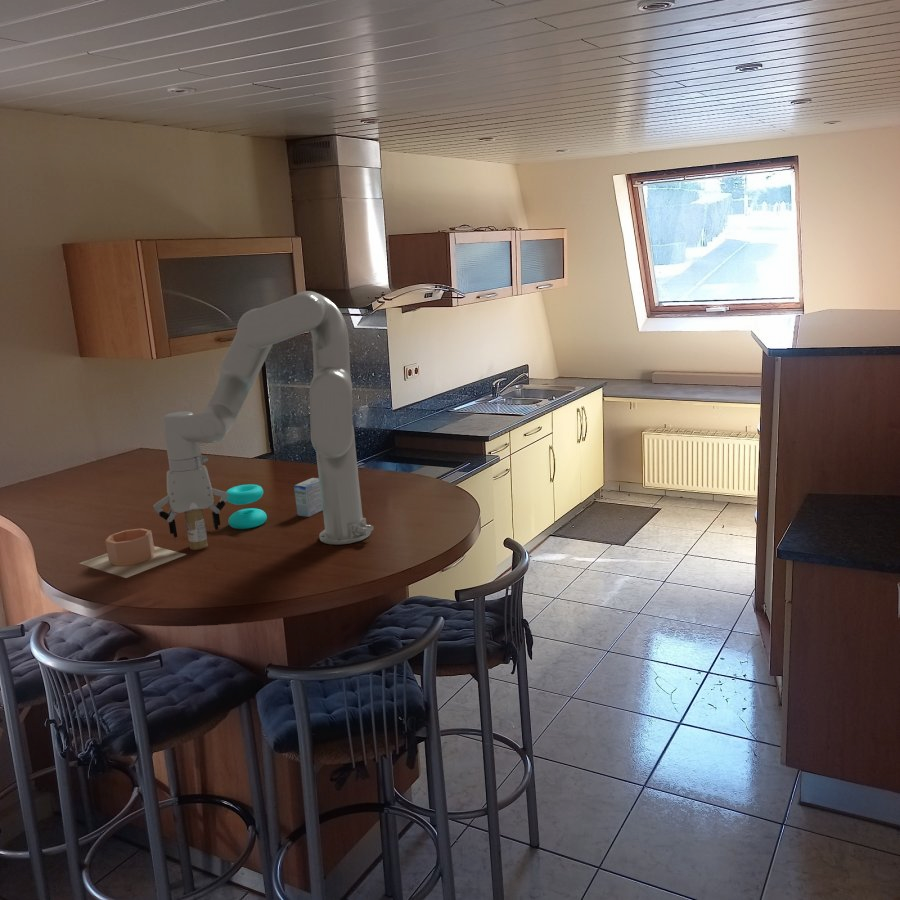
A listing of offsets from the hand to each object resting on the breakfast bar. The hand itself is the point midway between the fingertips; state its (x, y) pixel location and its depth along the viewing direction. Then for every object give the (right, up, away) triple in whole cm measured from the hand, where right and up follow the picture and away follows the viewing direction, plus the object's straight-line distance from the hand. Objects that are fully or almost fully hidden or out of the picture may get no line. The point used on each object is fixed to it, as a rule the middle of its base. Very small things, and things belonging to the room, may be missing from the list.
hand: (196, 532), depth 201 cm
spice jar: (+1, -5, +1) cm, 5 cm away
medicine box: (+24, +3, +26) cm, 36 cm away
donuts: (+8, 0, +20) cm, 22 cm away
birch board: (-14, -7, -4) cm, 16 cm away
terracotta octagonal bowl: (-14, -6, -4) cm, 15 cm away
